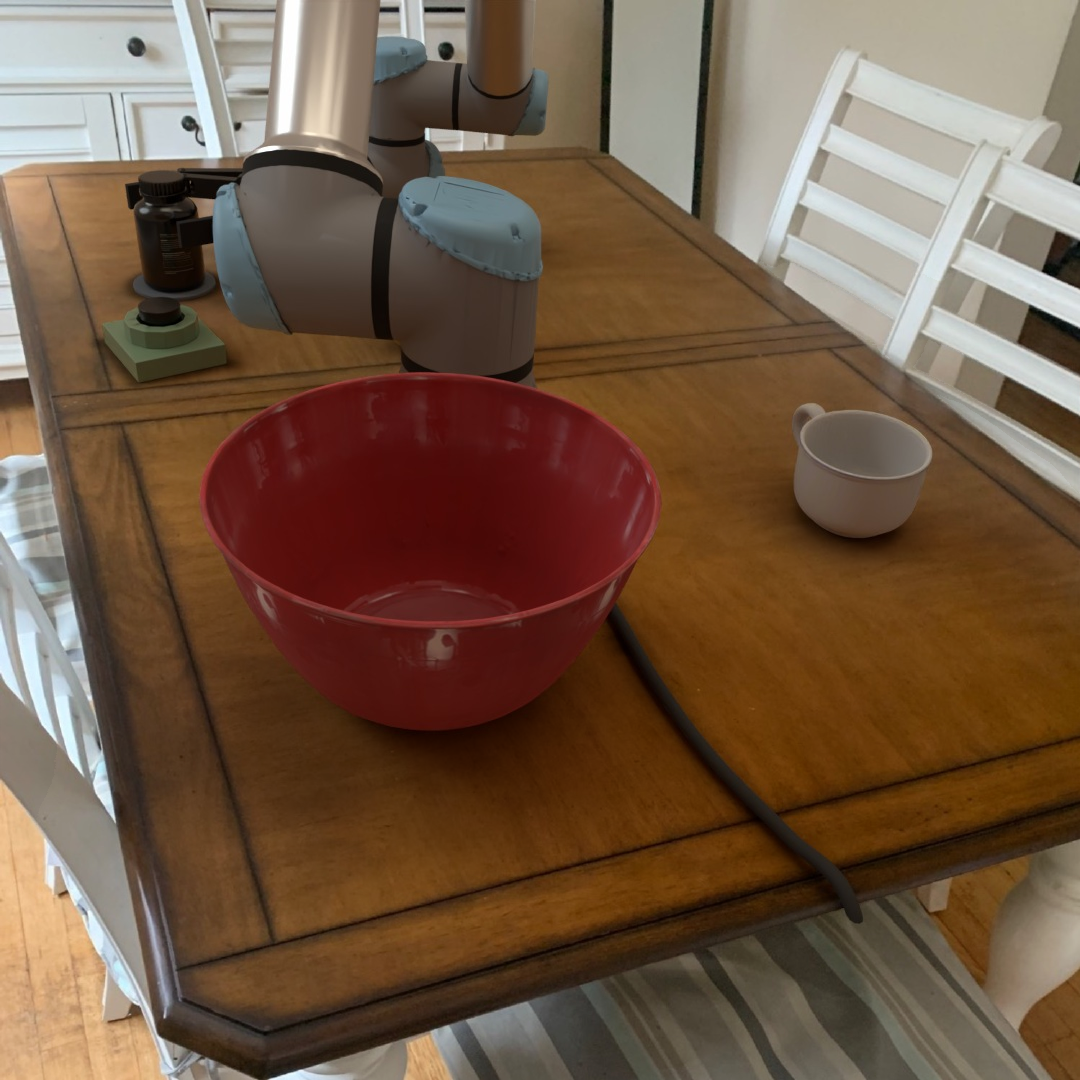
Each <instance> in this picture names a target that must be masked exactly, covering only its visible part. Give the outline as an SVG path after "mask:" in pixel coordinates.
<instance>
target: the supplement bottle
mask: <svg viewBox="0 0 1080 1080" xmlns="http://www.w3.org/2000/svg"><path fill="white" fill-rule="evenodd" d="M137 182H139V193H140V195H141V196H142V197H143V198H142V199H140V200H139V201H138V202H137V203H136V205H135V207H134V209H132V210H133V212H132V213H133V220H134V227H135V233H136V241H137V247H138V253H139V261H140V267H141V272H142V273H141V274H143V279H144V282H145V283H146V284H147V285H148V286H149V287H150V288H152V289H155V290H158V291H165V292H179V291H186V290H190V289H193V288H196V287H198V286H200V285H201V284H202V283H203V282H204V280H205V272H206V268H205V258H204V250H203V245H201V246H195V247H190V248H184V249H182V248H181V247H179V240H178V232H177V223H176V222H177V221H183V220H189V219H195V218H200V216H199V210H198V207H197V204H196V203H195V202H194V200H193V199H192V198H189V197H186V196H185V194H186V193H187V190H186V187H185V178H184V175H183V174H181V173H179V172H177V170H176V171H175V170H169V169H168V170H167V169H166V170H165V169H160V170H159V169H158V170H150V171H146V172H143V173H141V174H139V176H138V177H137Z"/></svg>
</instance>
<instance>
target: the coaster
mask: <svg viewBox="0 0 1080 1080" xmlns="http://www.w3.org/2000/svg"><path fill="white" fill-rule="evenodd" d="M132 286H133V287H132V288H133V290H134V292H135V293H136V294H137V295H138V296H141V297H143V298H145V299H148V298H153V297H169V298H173V299H176V300H178V301H179V302H184V301H189V300H190V301H191V300H196V299H198V298H201V297H204V296H206V295H208V294H210V293H211V292H213V291H214V290H215V288H216V286H217V281H216V278H215V277H214V275H213V274H211V273H210V272H208V271H205V280H204V282H203V283H202V284H201V285H200V286H198V287H196V288H193V289H190V290H186V291H179V292H165V291H158V290H155V289H152V288H150V287H149V286H148V285H147V284H146V283H145V282H144V279H143V273H141V274H140V275H138V276H136V278H135V279H133V282H132Z"/></svg>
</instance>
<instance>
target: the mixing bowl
mask: <svg viewBox="0 0 1080 1080" xmlns="http://www.w3.org/2000/svg"><path fill="white" fill-rule="evenodd" d="M198 498H199V499H198V500H199V501H198V502H199V509H200V510H199V511H200V514H201V519H202V521H203V525H204V527H205V529H206V531H207V533H208V536H209V537H210V539H211V540H212V542H213V544H214V546H215V547H216V548H217V549H218V550H219V552H220V553H221V554H222V556H223V558H224V560H225V563H226V566H227V567H228V570H229V571H230V573H231V577H233V580H234V582H235V583H236V585H237V589H238V590H239V592H240V594H241V595H242V597H243V598H244V600H245V602H246V603H247V606H248V607H249V609H250V610H251V612H252V614H253V615H254V617H255V618H256V620H257V621H258V623H259V624H260V625H261V627H262V629H263V630H264V632H265V633H266V635H267V636H268V637H269V639H270V640H271V642H272V643H273V644H274V646H275V647H276V648H277V650H278V651H279V652H280V653H281V654H282V656H283V657H284V659H285V660H286V661H287V662H288V663H289V664H290V666H291V667H292V668H293V669H294V670H295V671H296V673H298V674H299V675H300V676H301V677H302V678H303V679H304V680H305V681H306V682H307V683H308V684H309V685H310V686H311V687H312V688H314V689H315V691H317V692H318V693H319V694H320V695H322V696H323V697H324V698H325V699H327V700H328V702H330V703H332V704H334V705H336V706H337V707H339V708H341V709H342V710H344V711H346V712H347V713H349V714H350V715H353V716H356V717H358V718H361V719H363V720H368V721H371V722H374V723H377V724H379V725H382V726H383V725H384V726H386V727H392V728H398V729H405V730H410V731H451V730H457V729H463V728H464V729H465V728H469V727H475V726H478V725H482V724H485V723H488V722H491V721H494V720H497V719H499V718H502V717H505V716H506V715H508V714H511V713H512V712H514V711H516V710H518V709H520V708H523V707H524V706H526V705H527V704H529V703H531V702H532V701H534V700H535V699H536V698H538V696H539V695H541V694H542V693H543V692H544V691H546V690H547V689H548V688H550V687H551V686H552V685H553V684H554V683H555V682H556V681H557V680H558V679H559V678H560V677H561V676H562V675H563V674H564V673H565V672H566V671H567V670H568V669H569V668H570V666H571V665H572V664H573V663H574V662H575V661H576V660H577V659H578V657H579V656H580V654H582V652H583V651H584V650H585V648H586V647H587V646H588V644H589V643H590V642H591V640H592V639H593V637H595V634H597V632H598V631H599V629H600V628H601V626H602V625H603V623H604V622H605V620H606V619H607V617H608V615H609V612H610V611H611V609H612V608H613V606H614V604H615V603H616V604H617V601H618V599H619V597H620V596H621V594H622V592H623V590H624V588H625V587H626V585H627V583H628V581H629V578H630V577H631V575H632V573H633V571H634V568H635V567H636V564H637V562H638V560H639V558H640V557H641V556H642V555H643V554H644V552H645V551H646V550H647V548H648V547H649V545H650V544H651V542H652V540H653V538H654V536H655V534H656V531H657V529H658V525H659V522H660V518H661V512H662V505H663V503H662V492H661V488H660V484H659V480H658V477H657V475H656V472H655V470H654V468H653V466H652V464H651V463H650V461H649V459H648V458H647V456H646V455H645V454H644V452H643V451H642V450H641V449H640V447H638V445H637V444H636V443H635V442H634V441H633V440H632V439H631V437H629V436H627V434H625V433H624V432H623V431H622V430H621V429H619V428H618V427H617V426H616V425H614V424H613V423H612V422H610V421H609V420H607V419H606V418H604V417H603V416H601V415H599V414H597V413H596V412H595V411H592V410H591V409H589V408H586V407H584V406H582V405H581V404H579V403H576V402H574V401H572V400H570V399H568V398H565V397H562V396H560V395H557V394H554V393H552V392H549V391H546V390H542V389H539V388H537V389H536V388H533V387H530V386H526V385H522V384H518V383H513V382H509V381H504V380H499V379H494V378H488V377H482V376H474V375H464V374H453V373H429V372H414V373H399V372H398V373H385V374H376V375H369V376H363V377H358V378H357V377H356V378H352V379H347V380H346V379H345V380H342V381H338V382H333V383H329V384H325V385H321V386H317V387H315V388H314V387H313V388H311V389H308V390H306V391H303V392H300V393H297V394H295V395H292V396H289V397H287V398H285V399H283V400H280V401H278V402H276V403H274V404H271V405H270V406H268V407H267V408H266V407H265V409H263V410H261V411H259V412H258V413H256V414H255V415H253V416H251V417H250V418H248V419H246V420H245V421H244V422H242V423H241V424H240V425H239V426H238V427H236V428H235V429H234V430H233V431H232V432H230V434H228V436H227V437H226V438H224V440H223V441H222V442H221V443H220V444H219V446H218V447H217V448H216V449H215V451H214V453H213V454H212V456H211V457H210V459H209V461H208V462H207V464H206V466H205V469H204V471H203V474H202V477H201V482H200V487H199V497H198Z"/></svg>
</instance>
